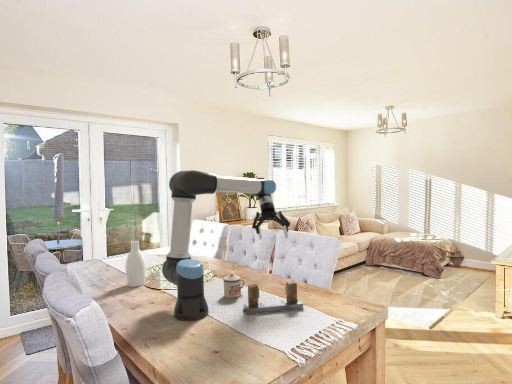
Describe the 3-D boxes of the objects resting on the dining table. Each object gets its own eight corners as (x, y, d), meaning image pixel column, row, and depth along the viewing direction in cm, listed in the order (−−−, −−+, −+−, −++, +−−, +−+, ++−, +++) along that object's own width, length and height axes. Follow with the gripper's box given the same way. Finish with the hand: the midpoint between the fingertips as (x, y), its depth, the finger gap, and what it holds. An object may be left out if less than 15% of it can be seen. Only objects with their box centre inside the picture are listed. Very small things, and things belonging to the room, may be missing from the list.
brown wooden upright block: (287, 307, 154) (287, 283, 154) (285, 304, 158) (284, 281, 158) (297, 306, 155) (296, 283, 155) (294, 303, 159) (294, 280, 159)
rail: (245, 314, 147) (245, 309, 147) (243, 308, 154) (243, 303, 154) (304, 309, 152) (304, 303, 152) (299, 303, 159) (299, 298, 159)
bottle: (147, 286, 192) (145, 242, 191) (126, 288, 188) (124, 243, 187) (145, 280, 202) (144, 239, 201) (126, 283, 198) (124, 240, 197)
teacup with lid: (229, 299, 166) (229, 276, 166) (220, 295, 173) (219, 272, 173) (249, 294, 173) (248, 272, 173) (239, 290, 181) (239, 268, 180)
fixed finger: (249, 311, 151) (249, 287, 151) (248, 307, 155) (247, 284, 155) (259, 310, 152) (259, 286, 152) (258, 306, 156) (257, 283, 156)
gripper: (287, 209, 189) (296, 240, 175) (244, 211, 184) (249, 243, 170) (290, 200, 184) (299, 232, 169) (245, 202, 179) (250, 234, 165)
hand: (274, 237), depth 170 cm, fingers open, 13 cm apart
